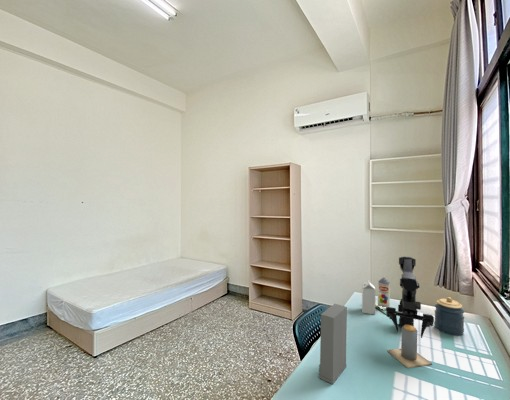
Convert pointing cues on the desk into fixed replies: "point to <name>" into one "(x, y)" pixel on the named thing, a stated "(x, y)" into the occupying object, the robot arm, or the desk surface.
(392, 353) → the mat
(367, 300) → the milk carton
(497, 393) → the desk surface
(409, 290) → the robot arm
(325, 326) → the tall grey pillar
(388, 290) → the aerosol can
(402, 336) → the canister
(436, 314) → the canister
